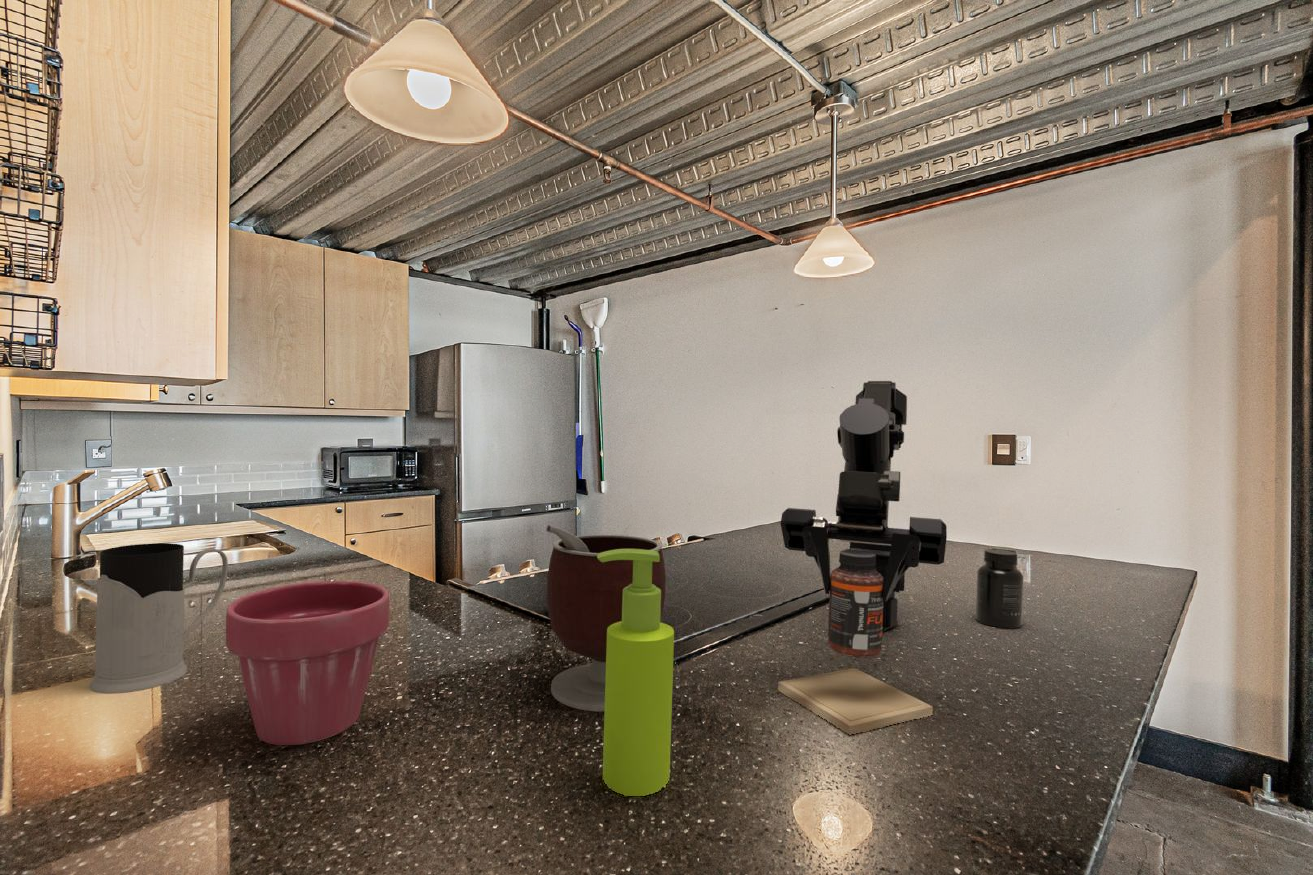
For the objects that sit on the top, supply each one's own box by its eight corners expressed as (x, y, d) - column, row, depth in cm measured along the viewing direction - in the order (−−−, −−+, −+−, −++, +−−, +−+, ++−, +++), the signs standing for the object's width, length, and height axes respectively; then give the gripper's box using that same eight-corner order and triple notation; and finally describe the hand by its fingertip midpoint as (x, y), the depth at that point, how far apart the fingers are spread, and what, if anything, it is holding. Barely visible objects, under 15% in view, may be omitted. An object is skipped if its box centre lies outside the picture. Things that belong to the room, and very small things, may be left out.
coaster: (777, 690, 74) (778, 681, 74) (854, 675, 80) (854, 667, 79) (849, 735, 63) (850, 725, 63) (932, 715, 69) (932, 705, 69)
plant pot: (270, 778, 53) (274, 628, 53) (195, 731, 60) (198, 600, 60) (415, 716, 65) (418, 593, 65) (337, 683, 72) (340, 574, 72)
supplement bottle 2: (1022, 621, 106) (1025, 551, 106) (1020, 632, 100) (1023, 557, 100) (977, 614, 110) (979, 546, 110) (973, 623, 104) (975, 552, 104)
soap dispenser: (591, 760, 57) (597, 543, 57) (665, 759, 58) (672, 545, 58) (589, 798, 51) (597, 556, 51) (673, 796, 52) (680, 558, 52)
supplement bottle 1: (875, 664, 68) (878, 560, 67) (821, 652, 71) (824, 553, 70) (886, 647, 73) (889, 551, 72) (835, 637, 76) (838, 545, 76)
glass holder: (71, 685, 70) (74, 551, 70) (201, 645, 83) (204, 533, 83) (121, 698, 67) (124, 559, 67) (248, 655, 80) (251, 539, 80)
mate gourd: (610, 657, 83) (615, 508, 83) (686, 690, 73) (692, 521, 73) (508, 688, 72) (513, 517, 72) (582, 732, 62) (587, 534, 62)
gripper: (785, 444, 78) (764, 546, 68) (948, 449, 71) (951, 564, 61) (794, 499, 86) (776, 599, 76) (942, 510, 79) (944, 621, 69)
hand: (855, 595), depth 70 cm, fingers closed on supplement bottle 1, 6 cm apart
